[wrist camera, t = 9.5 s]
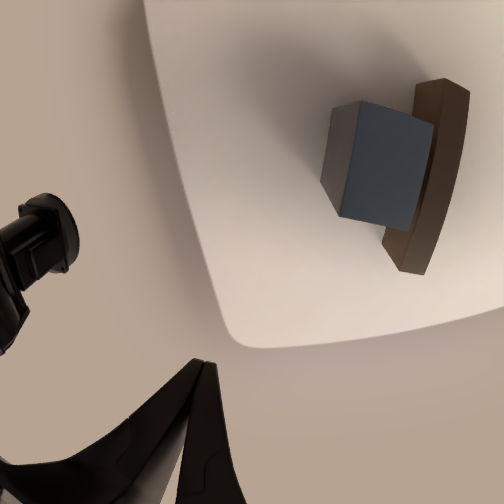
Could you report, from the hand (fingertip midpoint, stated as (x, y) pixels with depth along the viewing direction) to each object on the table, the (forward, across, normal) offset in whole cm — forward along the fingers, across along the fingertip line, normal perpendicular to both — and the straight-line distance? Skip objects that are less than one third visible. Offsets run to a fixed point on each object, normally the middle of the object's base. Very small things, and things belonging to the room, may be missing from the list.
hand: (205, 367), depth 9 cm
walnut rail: (+12, -11, -7) cm, 17 cm away
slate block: (+8, -6, -7) cm, 12 cm away
